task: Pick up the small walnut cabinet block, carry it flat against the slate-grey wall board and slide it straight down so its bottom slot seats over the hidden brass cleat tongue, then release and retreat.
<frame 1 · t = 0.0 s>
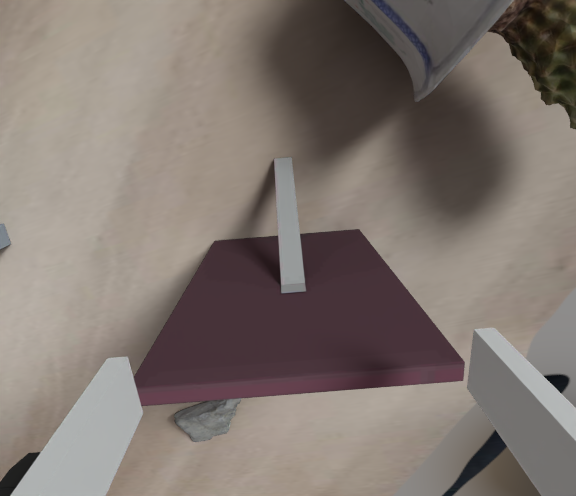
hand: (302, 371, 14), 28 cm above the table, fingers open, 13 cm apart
stone: (213, 405, 50), on the table
potted plant: (466, 35, 35), on the table
picture frame: (284, 202, 40), on the table
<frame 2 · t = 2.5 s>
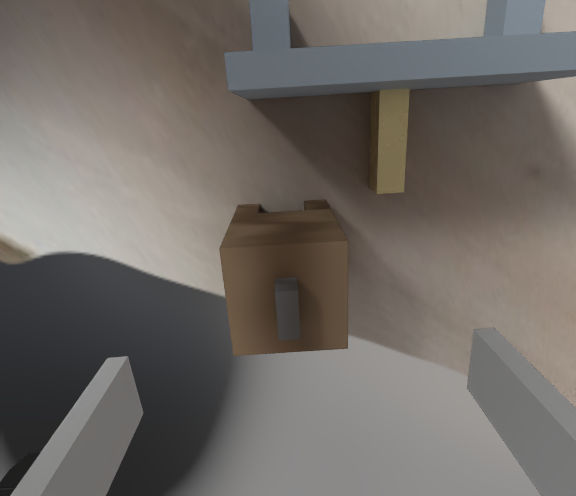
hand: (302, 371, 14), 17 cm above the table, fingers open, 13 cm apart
wall board: (385, 80, 26), on the table
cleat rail: (383, 141, 28), on the table
cabinet block: (284, 243, 30), on the table
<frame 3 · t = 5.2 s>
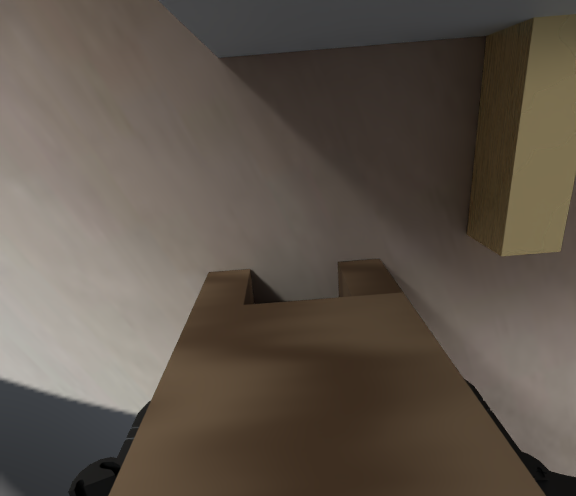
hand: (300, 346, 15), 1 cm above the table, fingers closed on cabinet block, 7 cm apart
wall board: (519, 7, 12), on the table
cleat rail: (502, 141, 13), on the table
cabinet block: (299, 338, 16), on the table, touching gripper
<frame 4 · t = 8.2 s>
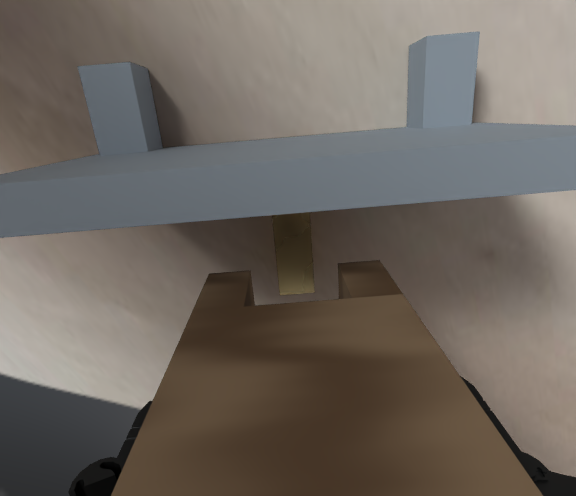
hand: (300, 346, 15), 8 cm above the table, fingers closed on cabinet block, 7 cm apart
wall board: (285, 151, 20), on the table
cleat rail: (291, 223, 22), on the table
cabinet block: (299, 339, 16), point 7 cm above the table, touching gripper
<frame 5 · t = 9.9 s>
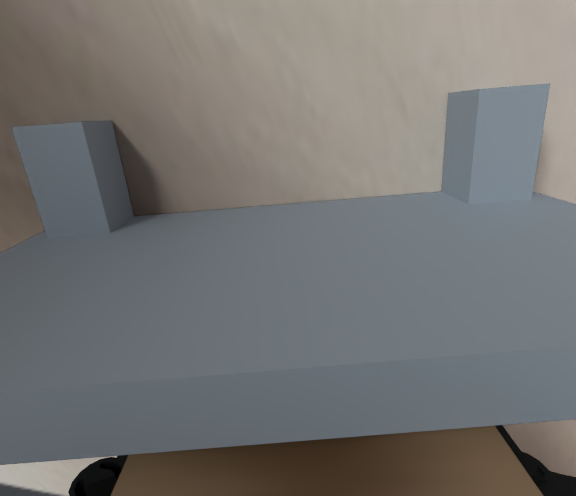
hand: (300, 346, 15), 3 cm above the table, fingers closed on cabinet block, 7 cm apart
wall board: (288, 220, 16), on the table
cabinet block: (299, 339, 16), point 2 cm above the table, touching gripper
when the fingers open (1 cm above the table, at t = 11.2 s): cabinet block stays where it is, on the table.
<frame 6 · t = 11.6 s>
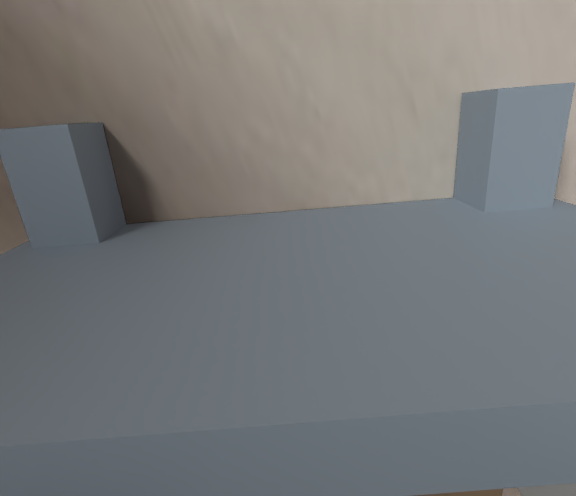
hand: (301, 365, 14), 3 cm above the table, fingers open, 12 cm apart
wall board: (290, 228, 15), on the table
cabinet block: (297, 326, 17), on the table
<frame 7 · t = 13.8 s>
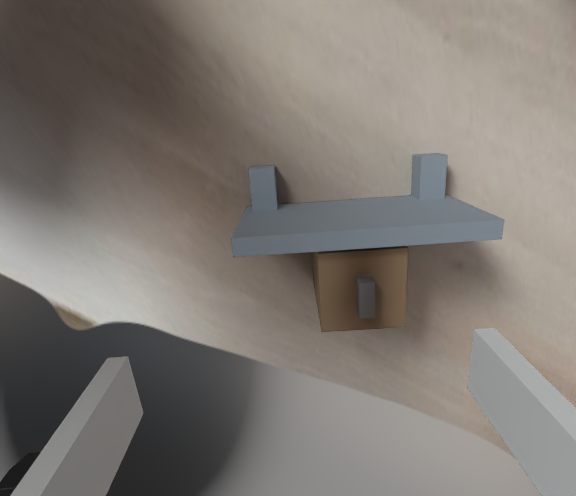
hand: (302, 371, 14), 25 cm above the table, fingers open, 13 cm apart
wall board: (344, 207, 37), on the table
cabinet block: (344, 251, 39), on the table
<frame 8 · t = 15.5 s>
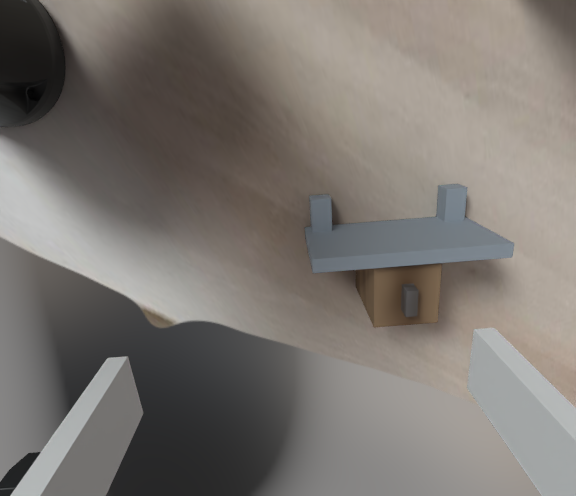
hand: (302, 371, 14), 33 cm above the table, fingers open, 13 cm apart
wall board: (382, 226, 46), on the table
cabinet block: (381, 261, 48), on the table
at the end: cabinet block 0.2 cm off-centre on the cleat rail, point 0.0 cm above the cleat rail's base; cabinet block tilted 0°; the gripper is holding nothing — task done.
